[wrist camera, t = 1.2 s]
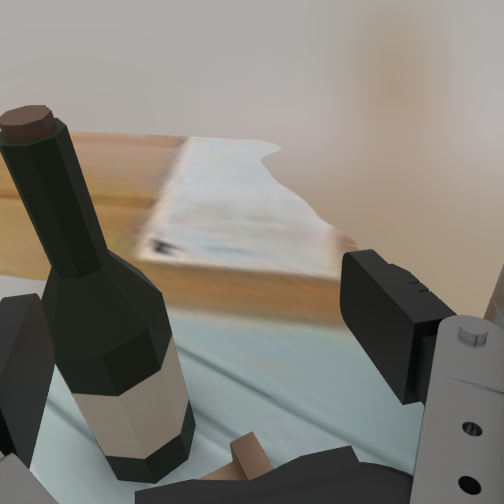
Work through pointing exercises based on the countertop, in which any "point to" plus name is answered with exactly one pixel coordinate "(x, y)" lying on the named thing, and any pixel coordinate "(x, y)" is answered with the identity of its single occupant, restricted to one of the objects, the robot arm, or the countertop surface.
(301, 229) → the countertop surface
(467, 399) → the robot arm
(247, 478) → the cradle
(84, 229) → the wine bottle
